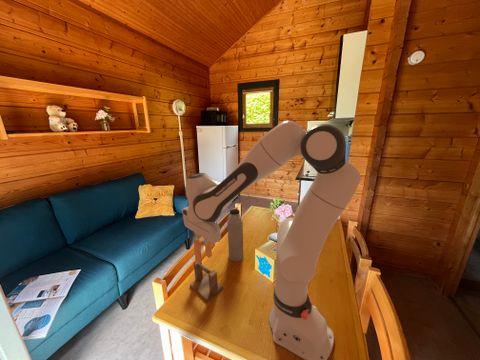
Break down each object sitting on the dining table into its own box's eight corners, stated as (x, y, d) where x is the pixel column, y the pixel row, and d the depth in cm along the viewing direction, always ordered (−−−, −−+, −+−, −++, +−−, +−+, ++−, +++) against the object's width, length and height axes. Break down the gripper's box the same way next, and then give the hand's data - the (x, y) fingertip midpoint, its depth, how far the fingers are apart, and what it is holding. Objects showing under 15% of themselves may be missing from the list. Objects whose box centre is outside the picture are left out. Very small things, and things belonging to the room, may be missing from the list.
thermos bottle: (244, 252, 113) (243, 207, 105) (241, 262, 106) (240, 215, 98) (230, 251, 115) (229, 206, 106) (227, 260, 108) (225, 213, 99)
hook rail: (223, 288, 90) (222, 268, 87) (207, 301, 84) (205, 280, 80) (205, 274, 98) (204, 255, 95) (190, 286, 92) (187, 266, 88)
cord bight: (211, 256, 88) (210, 236, 85) (198, 264, 83) (197, 243, 80) (208, 253, 90) (207, 234, 86) (195, 261, 85) (193, 241, 82)
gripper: (223, 218, 75) (225, 249, 79) (191, 203, 88) (194, 231, 93) (211, 225, 71) (213, 257, 75) (179, 208, 84) (182, 237, 88)
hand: (202, 242), depth 84 cm, fingers closed on cord bight, 2 cm apart
